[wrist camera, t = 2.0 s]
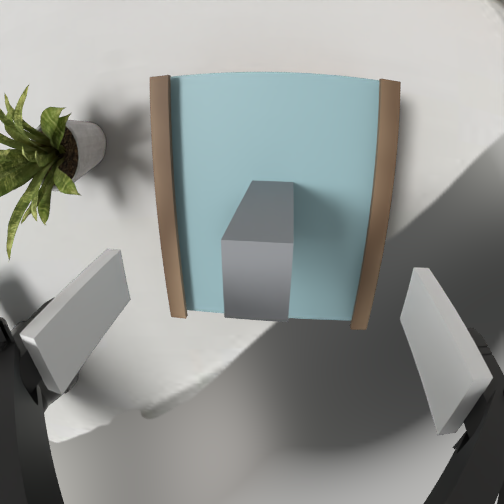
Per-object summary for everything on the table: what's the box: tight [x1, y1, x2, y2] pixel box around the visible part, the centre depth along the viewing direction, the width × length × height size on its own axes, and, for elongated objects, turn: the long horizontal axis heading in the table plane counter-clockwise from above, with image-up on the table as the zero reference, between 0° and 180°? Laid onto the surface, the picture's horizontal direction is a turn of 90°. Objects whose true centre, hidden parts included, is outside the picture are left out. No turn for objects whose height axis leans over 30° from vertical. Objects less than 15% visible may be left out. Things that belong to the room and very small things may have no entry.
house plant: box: [0, 85, 106, 260], centre depth 23 cm, size 14×14×16 cm
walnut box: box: [150, 75, 401, 330], centre depth 27 cm, size 17×20×8 cm
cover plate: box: [171, 72, 379, 322], centre depth 20 cm, size 15×20×12 cm
